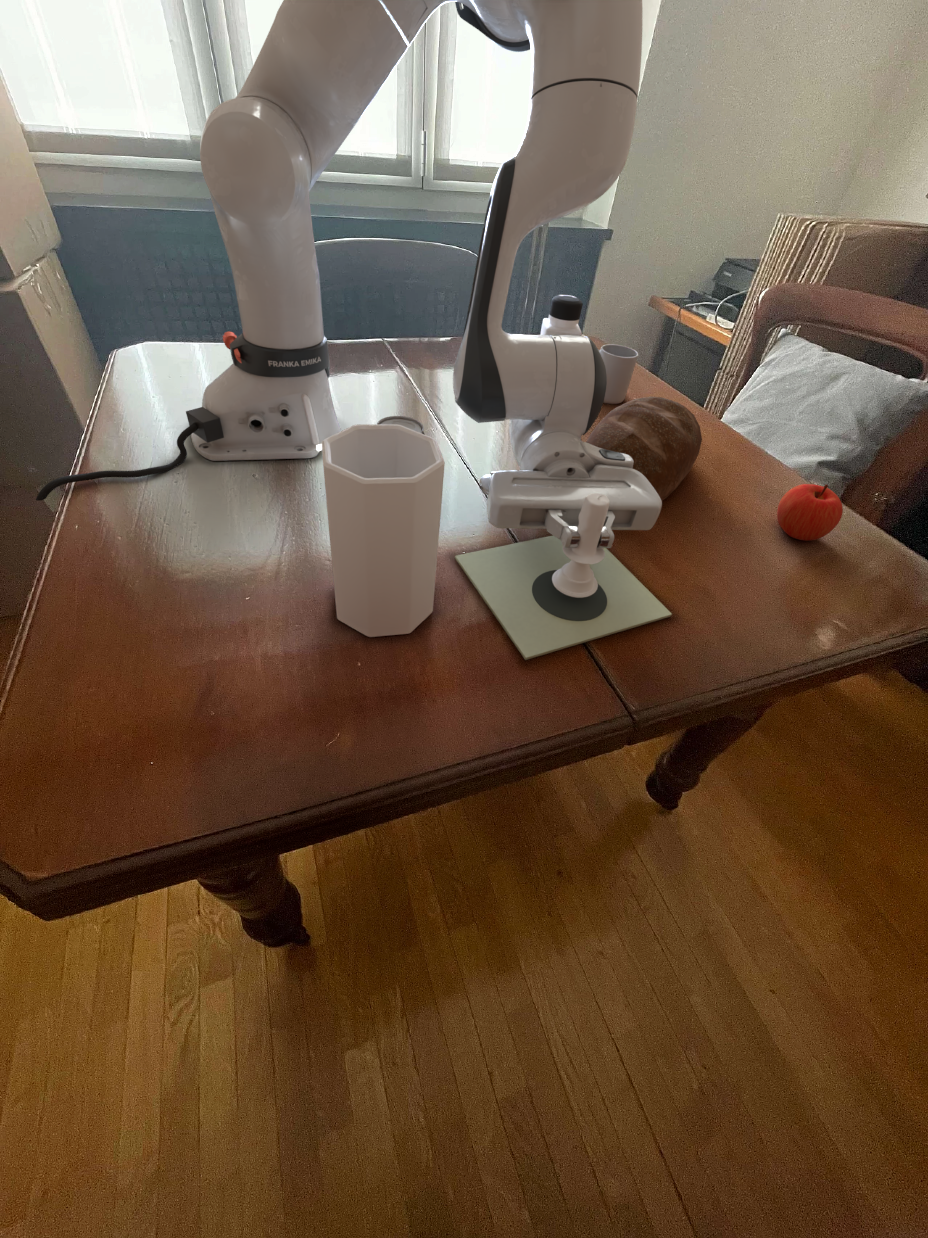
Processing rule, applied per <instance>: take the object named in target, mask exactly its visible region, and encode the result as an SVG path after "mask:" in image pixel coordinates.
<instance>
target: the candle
mask: <svg viewBox="0 0 928 1238" xmlns="http://www.w3.org/2000/svg"><path fill="white" fill-rule="evenodd" d="M609 503H610V502H609V499H608V497H607V496H606V495H603V494H599V493H592V494H589V495H588V496H586V497H585V499H584V502H583V505H582V509H581V512H580V514H579V517H578V519H579V525H578V528H577V531H578V533H579V534H580V541H579V542H578V547H577V548H564V547H563V552H564V554H565V555H566V556H567V557H568V558H569V559H571V561H570V562H569V563H567V564H565V565H564V566H563V567H562V568H561V569H558V570H557V571H556V572H555V573H554V574H553V576H552V582H553V585H554V586H555V587H556V589H557V590H559V591H560V592H561V593H563V594H565V595H568V596H571V597H576V598H583V597H588V596H590V595H592V594H594V593H595V592H596V590H597V588H598V583H597V580H596V579H595V577H594V573H593V571H592V569H591V568H590V565H589V564H596V563H599V562H600V561H602V560H603V559H604V557H605V551H604V549H603V548H597V545H598V542H599V539H600V535H601V532H602V529H603V525H604V522H605V519H606V515H607V512H608V508H609Z"/></svg>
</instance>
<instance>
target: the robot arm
mask: <svg viewBox="0 0 928 1238" xmlns="http://www.w3.org/2000/svg"><path fill="white" fill-rule="evenodd" d="M451 2H454V4H455V8H456V12H457V15H458V16H459V18H460V19H462V20H463V21H464V22H465V23H467V24H469V25H470V26H472V27H473V28H475V29H476V30H477V31H479V32H480V33H482V34H483V35H484V36H485V37H486V38H488V39H489V41H491V42H493V43H494V44H495V45H497V46H499V47H500V48H502V49H504V50H506V51H509V52H513V53H524V52H527V51H530V53H531V54H530V55H531V65H530V67H531V68H530V86H529V100H528V115H527V122H526V126H525V130H524V134H523V136H522V139H521V142H520V144H519V145H518V148H517V150H516V152H515V153H514V155H513V156H512V157H510V158H509V159H507V160H505V161H504V162H502V163H501V164H500V167H499V168H498V171H497V173H496V175H495V178H494V180H493V183H492V187H491V190H490V194H489V198H488V201H487V206H486V212H485V215H484V221H483V226H482V230H481V235H480V241H479V247H478V252H477V257H476V262H475V263H476V264H475V267H474V268H475V269H474V274H473V278H472V279H473V281H472V285H471V290H470V291H471V292H470V296H469V302H468V309H467V314H466V319H465V323H464V329H463V334H462V339H461V342H460V346H459V349H458V352H457V355H456V358H455V361H454V367H453V372H452V390H453V395H454V401H455V403H456V405H457V406H458V407H459V408H460V409H461V410H462V411H463V413H464V414H466V415H467V416H468V417H469V418H470V419H472V420H473V421H474V422H476V423H478V424H483V423H497V422H504V421H506V420H507V421H508V433H509V442H510V446H511V451H512V454H513V457H514V460H515V462H516V464H517V466H518V467H519V470H518V469H517V470H516V469H512V470H511V469H502V470H501V469H500V470H497V471H491V472H490V473H489V474H485V475H482V476H480V478H479V486H480V490H481V492H483V494H485V495H486V496H487V500H486V515H487V521H488V523H489V524H490V525H492V526H493V527H495V528H496V529H515V530H516V529H518V530H519V529H522V530H524V529H526V530H528V529H529V530H546V532H547V533H548V534H550V535H551V536H555V537H556V538H558V539H560V540H561V542H562V545H563V547H564V548H577V547H578V542H579V541H580V534H579V533H578V531H577V528H578V525H579V519H578V517H579V514H580V512H581V509H582V505H583V502H584V499H585V497H586V496H588V495H589V494H592V493H599V494H603V495H606V496H607V497H608V499H609V502H610V503H609V508H608V512H607V515H606V519H605V522H604V525H603V529H602V532H601V535H600V539H599V542H598V545H597V548H607V549H611V548H612V547H613V543H614V541H615V534H614V531H650V530H651V529H653V527H654V526H655V524H656V523H657V521H658V519H659V516H660V514H661V512H662V508H663V501H661V499H660V497H659V495H658V493H657V492H656V490H655V489H654V487H653V486H652V485H651V483H650V482H649V481H648V480H647V478H646V477H645V476H644V475H643V474H642V473H640V472H639V471H637V470H635V469H632V468H633V464H634V461H633V459H632V457H631V456H629V455H627V454H624V453H619V452H614V451H610V450H606V449H602V448H599V447H596V446H594V445H591V444H589V443H587V442H586V441H583V440H582V436H585V435H586V434H587V433H588V432H589V430H590V429H591V428H592V427H593V425H594V423H595V422H596V420H597V419H598V417H599V415H600V412H601V411H602V407H603V405H604V403H603V402H604V398H605V393H606V386H607V374H606V368H605V364H604V361H603V359H602V357H601V354H600V352H599V350H600V349H598V347H597V345H596V344H595V342H594V341H593V340H592V339H591V338H590V337H589V336H587V335H584V336H583V335H582V336H571V335H540V334H520V333H518V334H517V333H508V332H506V331H504V330H503V326H502V325H503V319H504V315H505V310H506V304H507V299H508V295H509V289H510V285H511V279H512V276H513V271H514V270H513V269H514V266H515V265H514V264H515V260H516V256H517V252H518V250H519V247H520V245H521V244H522V242H523V240H524V239H525V238H526V237H527V236H528V235H529V234H530V233H532V232H533V231H535V230H536V229H538V228H539V227H543V226H544V225H546V224H548V223H551V222H554V221H557V220H559V219H561V218H564V217H566V216H569V215H571V214H573V213H576V212H578V211H580V210H583V209H584V208H586V207H588V206H589V205H591V204H592V203H594V202H596V201H597V200H598V199H600V198H601V197H602V196H603V195H605V194H606V193H607V192H608V191H609V189H610V188H611V187H613V185H614V184H615V182H616V181H617V180H618V178H619V177H620V175H621V174H622V172H623V169H624V168H625V166H626V163H627V161H628V157H629V154H630V150H631V145H632V141H633V134H634V131H635V130H634V129H635V123H636V115H637V107H638V98H639V89H640V88H639V87H640V82H641V81H640V80H641V68H642V53H643V51H642V50H643V0H282V2H281V4H280V6H279V8H278V9H277V12H276V14H275V17H274V19H273V22H272V24H271V26H270V29H269V31H268V34H267V35H266V38H265V40H264V42H263V45H262V46H261V48H260V50H259V53H258V55H257V57H256V59H255V61H254V63H253V65H252V67H251V69H250V71H249V73H248V75H247V77H246V79H245V81H244V83H243V85H242V87H241V89H240V90H239V92H238V94H237V95H236V96H235V98H230V99H227V100H225V101H223V102H221V103H219V104H218V105H217V106H216V107H214V109H212V111H211V112H210V113H209V115H208V116H207V118H206V120H205V123H204V124H203V127H202V131H201V136H200V144H199V160H200V167H201V171H202V175H203V179H204V181H205V184H206V185H207V188H208V190H209V195H210V199H211V203H212V206H213V210H214V214H215V217H216V218H215V219H216V221H217V224H218V229H219V232H220V235H221V239H222V241H223V245H224V248H225V251H226V254H227V258H228V261H229V265H230V269H231V274H232V279H233V283H234V284H233V285H234V289H235V295H236V300H237V306H238V312H239V319H240V324H241V329H242V333H240V334H239V335H238V336H237V334H235V332H233V331H225V332H224V333H223V335H222V341H223V343H224V345H225V347H226V348H227V349H228V350H229V351H230V356H231V359H232V360H231V361H232V364H231V365H229V366H228V367H227V368H226V369H225V370H224V371H223V372H222V373H221V374H219V376H217V377H216V378H215V379H214V380H212V381H211V382H210V383H209V384H208V385H207V386H206V387H205V389H204V391H203V393H202V398H201V399H202V400H201V407H200V406H199V407H197V408H193V409H189V410H186V411H185V414H186V419H187V422H188V426H187V427H186V428H185V429H183V431H181V432H180V434H179V435H178V436H177V439H176V445H177V448H178V450H179V455H178V456H177V457H176V458H175V459H174V460H173V461H172V462H170V463H167V464H164V465H163V464H162V465H159V466H152V467H148V468H143V469H142V468H141V469H135V470H98V471H92V472H85V473H77V474H69V475H64V476H60V477H57V478H55V479H53V480H51V481H49V482H48V483H47V484H45V485H43V487H42V488H41V489H40V490H39V492H38V494H37V496H36V498H35V501H44V500H46V499H47V498H48V496H49V495H50V494H51V493H52V492H53V491H54V490H55V489H57V488H59V487H60V486H63V485H67V484H71V483H78V482H85V481H92V480H97V479H104V478H106V479H108V478H125V479H126V478H128V479H129V478H141V477H147V476H152V475H157V474H162V473H166V472H168V471H171V470H173V469H175V468H177V467H178V466H180V465H181V464H183V463H184V462H185V460H186V459H187V457H188V450H187V448H186V446H185V442H186V440H187V438H189V437H190V439H191V443H192V445H193V447H194V449H195V450H196V452H197V453H198V454H199V455H200V456H201V457H203V458H205V459H207V460H209V461H215V462H216V461H219V462H220V461H222V462H223V461H254V460H257V461H258V460H286V459H287V460H289V459H291V460H293V459H294V460H295V459H312V458H315V457H317V456H318V455H319V454H320V452H322V441H323V440H324V439H326V438H328V437H330V436H332V435H334V434H336V433H338V432H340V431H342V427H341V424H340V421H339V418H338V415H337V413H336V409H335V405H334V401H333V397H332V392H331V386H330V380H329V378H330V370H331V361H330V359H331V358H330V348H329V343H328V338H327V337H326V336H325V333H324V321H323V305H322V304H323V303H322V293H321V292H322V291H321V278H320V272H319V265H318V259H317V251H316V244H315V236H314V235H315V234H314V228H313V220H312V209H311V200H310V191H311V190H312V188H313V187H314V185H315V184H316V182H317V181H318V179H319V178H320V177H321V175H322V173H323V172H324V171H325V169H326V168H327V166H328V165H329V164H330V162H331V161H332V159H333V158H334V156H335V155H336V153H337V152H338V151H339V149H340V148H341V146H342V145H343V143H344V142H345V141H346V139H347V138H348V136H349V135H350V133H351V132H352V130H353V129H354V128H355V126H356V125H357V123H358V122H359V120H361V118H362V117H363V115H364V114H365V112H366V111H367V110H368V108H369V107H370V105H371V104H372V102H373V101H374V99H375V98H376V97H377V95H378V93H379V91H380V90H381V89H382V88H383V86H384V84H385V83H386V81H387V80H388V79H389V77H390V75H391V74H392V72H394V70H395V68H396V67H397V66H398V64H399V63H400V61H401V59H402V58H403V57H404V55H405V54H406V53H407V51H408V49H409V47H410V46H411V45H412V43H413V42H414V40H415V39H416V37H417V35H418V34H419V33H420V31H421V30H422V28H423V27H424V25H425V23H426V22H427V21H428V19H430V17H431V16H432V14H434V12H435V11H436V10H437V9H438V8H440V7H441V6H443V5H444V4H447V3H451Z"/></svg>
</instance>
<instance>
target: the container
mask: <svg viewBox="0 0 928 1238" xmlns="http://www.w3.org/2000/svg"><path fill="white" fill-rule="evenodd" d="M583 305H584V303H583V301H582V300H581V299H580V298H578V297H576V296H575V295H574V296H573V295H570V294H569V295H568V294H557V295H555V296H553V298H552V299H551V302H550V308H549V313H548V316H547V317H544V318H543V319H542V322H541V323H542V324H541V328H540V334H539V335H571V336H583V332H582V330H581V328H580V326H579V323H580V319H581V314H582V310H583Z"/></svg>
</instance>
